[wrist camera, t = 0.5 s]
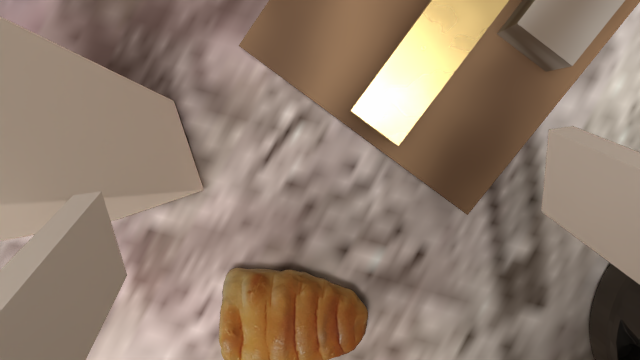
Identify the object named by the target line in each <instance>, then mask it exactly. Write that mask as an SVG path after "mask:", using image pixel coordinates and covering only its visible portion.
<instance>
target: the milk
mask: <svg viewBox="0 0 640 360" xmlns="http://www.w3.org/2000/svg"><path fill="white" fill-rule="evenodd" d="M202 190H203V186H202V183H201V180H200V177H199V174H198V171H197V168H196V165H195V162H194V159H193V156H192V153H191V150H190V148H189V145H188V142H187V139H186V136H185V133H184V130H183V127H182V124H181V121H180V118H179V115H178V112H177V109H176V106H175V103H174V101H173V100H171V99H169V98H167V97H165V96H163V95H160V94H158V93H156V92H154V91H152V90H150V89H148V88H146V87H144V86H142V85H140V84H138V83H136V82H134V81H132V80H130V79H128V78H126V77H123V76H121V75H119V74H117V73H115V72H113V71H111V70H109V69H107V68H105V67H103V66H101V65H99V64H97V63H95V62H93V61H91V60H89V59H86V58H84V57H82V56H80V55H78V54H76V53H74V52H72V51H70V50H68V49H66V48H64V47H62V46H60V45H58V44H56V43H54V42H52V41H49V40H47V39H45V38H43V37H41V36H39V35H37V34H35V33H33V32H31V31H29V30H27V29H25V28H23V27H21V26H19V25H17V24H15V23H12V22H10V21H8V20H6V19H4V18H2V17H0V241H4V240H9V239H15V238H20V237H26V236H31V235H35V234H36V233H37V232H38V231H39V230H40V229H41V228H42V227H43V226H44V225H45V224H46V223H47V222H48V221H49V220H50V219H51V218H52V216H53V215H54V214H55V213H56V212H57V211H58V210H59V209H60V208H61V207H62V206H63V205H64V204H65V203H66V202H67V201H68V200H69V199H70V198H71V197H72V196H73V195H78V194H86V193H93V192H100V191H102V195H103V198H104V201H105V204H106V208H107V211H108V214H109V217H110V221H114V220H118V219H121V218H124V217H127V216H130V215H133V214H135V213H138V212H141V211H144V210H147V209H150V208H153V207H156V206H159V205H162V204H165V203H168V202H171V201H173V200H176V199H179V198H182V197H185V196H188V195H191V194H194V193H197V192H200V191H202Z"/></svg>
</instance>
